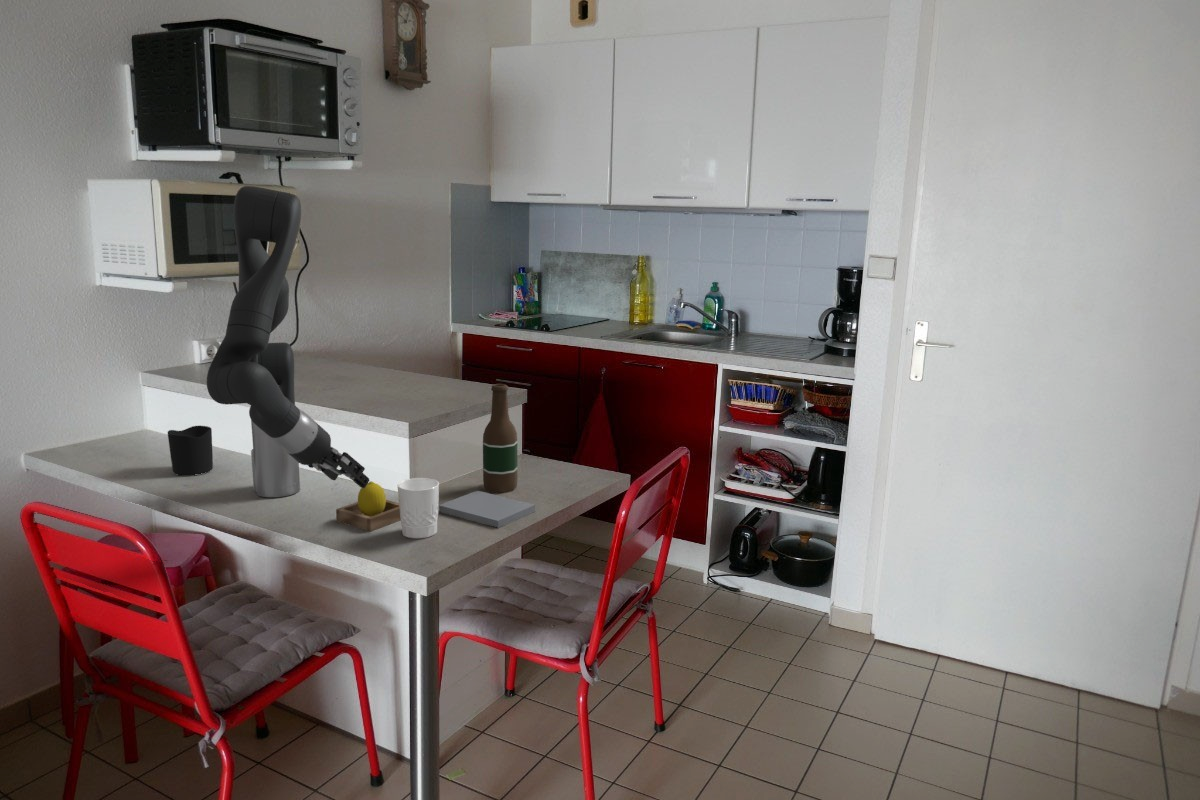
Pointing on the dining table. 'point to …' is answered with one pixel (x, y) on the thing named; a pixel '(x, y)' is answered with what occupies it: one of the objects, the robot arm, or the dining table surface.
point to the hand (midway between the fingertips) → (351, 480)
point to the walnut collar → (357, 519)
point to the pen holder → (191, 450)
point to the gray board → (487, 508)
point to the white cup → (418, 507)
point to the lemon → (371, 499)
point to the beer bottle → (500, 446)
